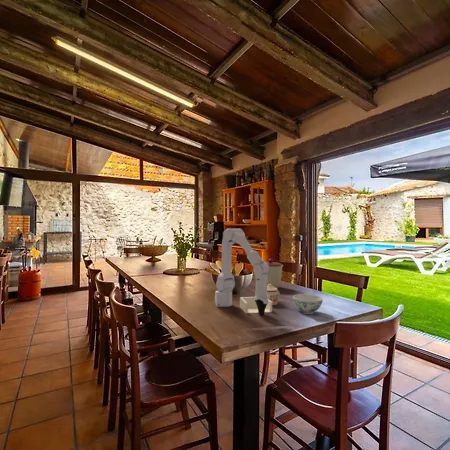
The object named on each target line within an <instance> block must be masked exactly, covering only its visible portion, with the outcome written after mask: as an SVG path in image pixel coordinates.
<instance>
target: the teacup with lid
mask: <svg viewBox="0 0 450 450" xmlns="http://www.w3.org/2000/svg"><path fill="white" fill-rule="evenodd" d="M267 295H268V296H270V297H269V298H268V299H269V300H270V301H272V306H275V305H278V299H279V298H280V296H281V295H280V290H279V289H278V288H275V287H273V286H272V284H268V286H267Z"/></svg>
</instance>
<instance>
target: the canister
mask: <svg viewBox="0 0 450 450" xmlns="http://www.w3.org/2000/svg"><path fill="white" fill-rule="evenodd" d="M265 262H266V263H268V265H269V267H270V271H269V272H268V273H267V286H268V284H272V286H273V287H275V288H277V289H278V288H280V287H281V280H282V272H283V267H284V264H282V263H281V262H274V259H272V258H269V259H268V260H267V261H265Z"/></svg>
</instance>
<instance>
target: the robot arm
mask: <svg viewBox="0 0 450 450" xmlns="http://www.w3.org/2000/svg"><path fill="white" fill-rule="evenodd" d="M235 243H237V244H239V245H240V247H241V248H242V249H243V250H244V252H245V253H246V258H247V260H248V261H249V262H250V264H251V266H252V267H253V268H252V270H253V273H254V277H255V293H254V297H255V298H257V299H258V300H255V302H256V304H257V308H258V315H259V316H264V315H265V313H266V312H265V308H266V305H267V304H268V298H269V297H270V296H268V295H267V273H268V272H269V271H270V267H269V265H268V263H266V262H267V261H264V260H263V259H262V257H261V256H260V254H259V252H258V251H257V250H253V248H252V246H251V245H250V242H249V241H248V240H247V238H246V234H245V232H244V231H243V229H242V228H240V227H239V228H230V227H229V228H226V229H225V230H224V231H222V241H221V266H220V267H221V269H220V270H221V272H220V273H219V275H217V279H216V283H215V286H216V289H217V290H215V291H214V305H215V307H217V308H219V307H224V308H225V307H231V306H232V305H233V290H234V288H235V285H236V282H235V276H234V274H233V273H232V257H233V256H232V255H233V254H232V253H233V252H232V250H233V249H232V248H233V245H234V244H235Z"/></svg>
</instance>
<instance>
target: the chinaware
mask: <svg viewBox="0 0 450 450" xmlns="http://www.w3.org/2000/svg"><path fill="white" fill-rule="evenodd" d="M323 300H324V299H323V297H321V296H319V295H315V294H307V293H303V294H302V293H298V294H294V295H292V301H293V303H294V305H295V306H296V308H297V309H298V310H299V311H300V312H301V313H302V314H305V315H313V313H314V314H315V312H316V311H318V310H319V309H320V308H321V306H322V304H323V302H324V301H323Z"/></svg>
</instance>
